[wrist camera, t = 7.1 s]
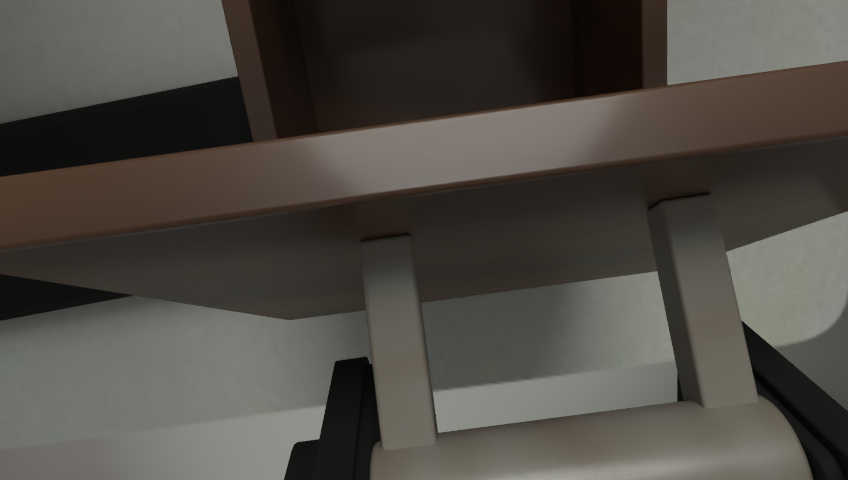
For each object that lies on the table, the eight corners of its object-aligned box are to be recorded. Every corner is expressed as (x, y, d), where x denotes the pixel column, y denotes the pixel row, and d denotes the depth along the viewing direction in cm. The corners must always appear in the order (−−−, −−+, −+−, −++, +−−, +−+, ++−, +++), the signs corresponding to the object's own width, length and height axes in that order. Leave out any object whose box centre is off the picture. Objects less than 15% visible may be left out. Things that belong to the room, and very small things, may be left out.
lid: (-83, 185, 6) (-95, 757, 5) (1204, 8, 6) (1422, 567, 5) (285, 296, 20) (299, 456, 19) (671, 245, 20) (703, 403, 19)
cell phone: (316, 254, 29) (313, 261, 28) (-37, 322, 30) (-51, 331, 29) (267, 70, 26) (262, 71, 26) (-123, 148, 27) (-141, 152, 26)
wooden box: (260, -88, 25) (186, -150, 16) (578, -133, 24) (668, -220, 16) (322, 225, 29) (289, 302, 21) (591, 189, 29) (667, 252, 21)
